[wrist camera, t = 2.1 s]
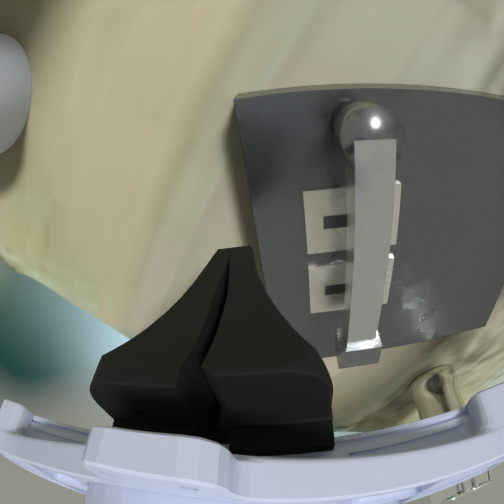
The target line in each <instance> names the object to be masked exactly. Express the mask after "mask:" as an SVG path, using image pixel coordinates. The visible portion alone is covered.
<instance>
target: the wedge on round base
mask: <svg viewBox="0 0 504 504" xmlns="http://www.w3.org/2000/svg"><path fill="white" fill-rule="evenodd" d="M31 93H32V79H31V71H30V66H29V62H28V59H27V56H26V54H25V52H24V50H23V48H22V47H21V45H20V44H19V43H18V42H17V41H16V40H15V39H14V38H12V37H11V36H8V35H6V34H0V154H1V153H2V152H4V151H6V150H7V149H9V148H10V147H11V146H12V145H13V144H14V143H15V142H16V140H17V139H18V138H19V136H20V134H21V132H22V130H23V128H24V126H25V123H26V120H27V117H28V113H29V109H30V103H31Z"/></svg>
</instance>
